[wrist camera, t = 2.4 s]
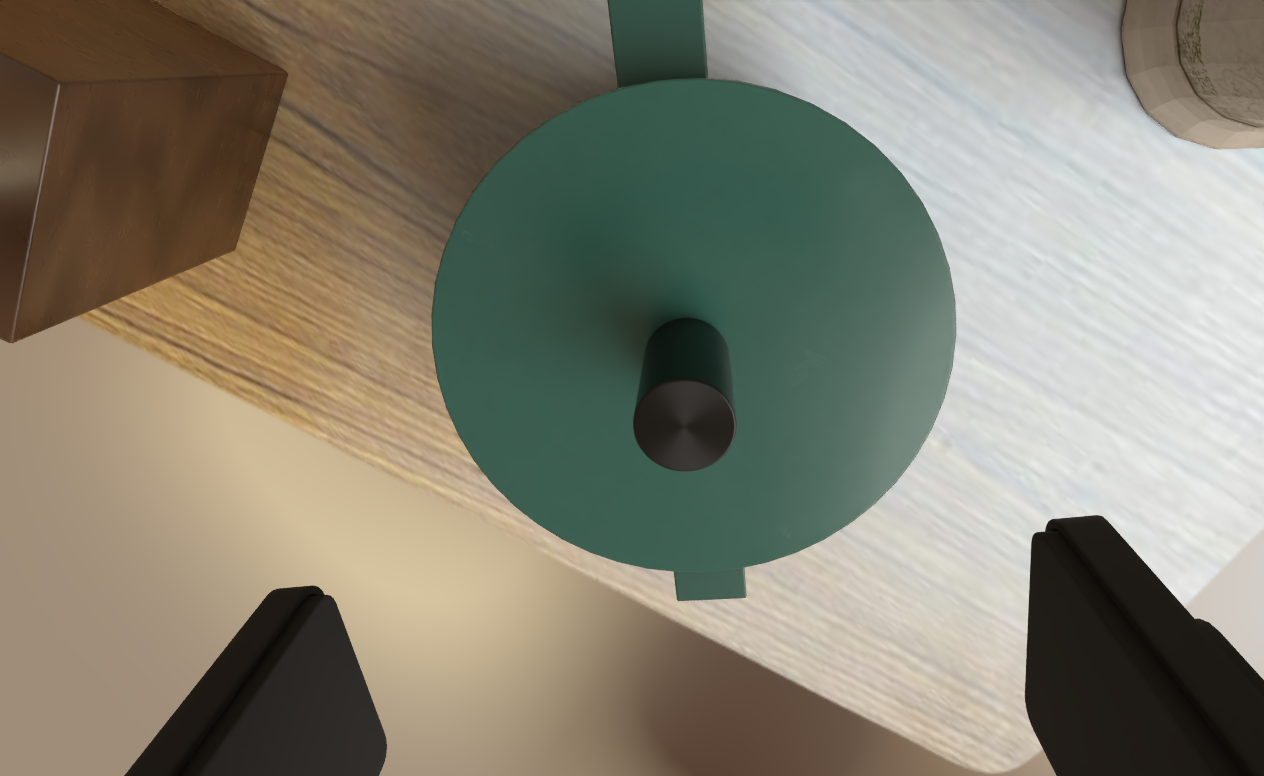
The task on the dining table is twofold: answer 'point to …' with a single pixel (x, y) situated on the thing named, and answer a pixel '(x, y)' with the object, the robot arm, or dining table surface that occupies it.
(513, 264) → the lid
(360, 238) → the dining table surface
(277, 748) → the robot arm
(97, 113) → the block
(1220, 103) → the mug
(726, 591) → the pot
